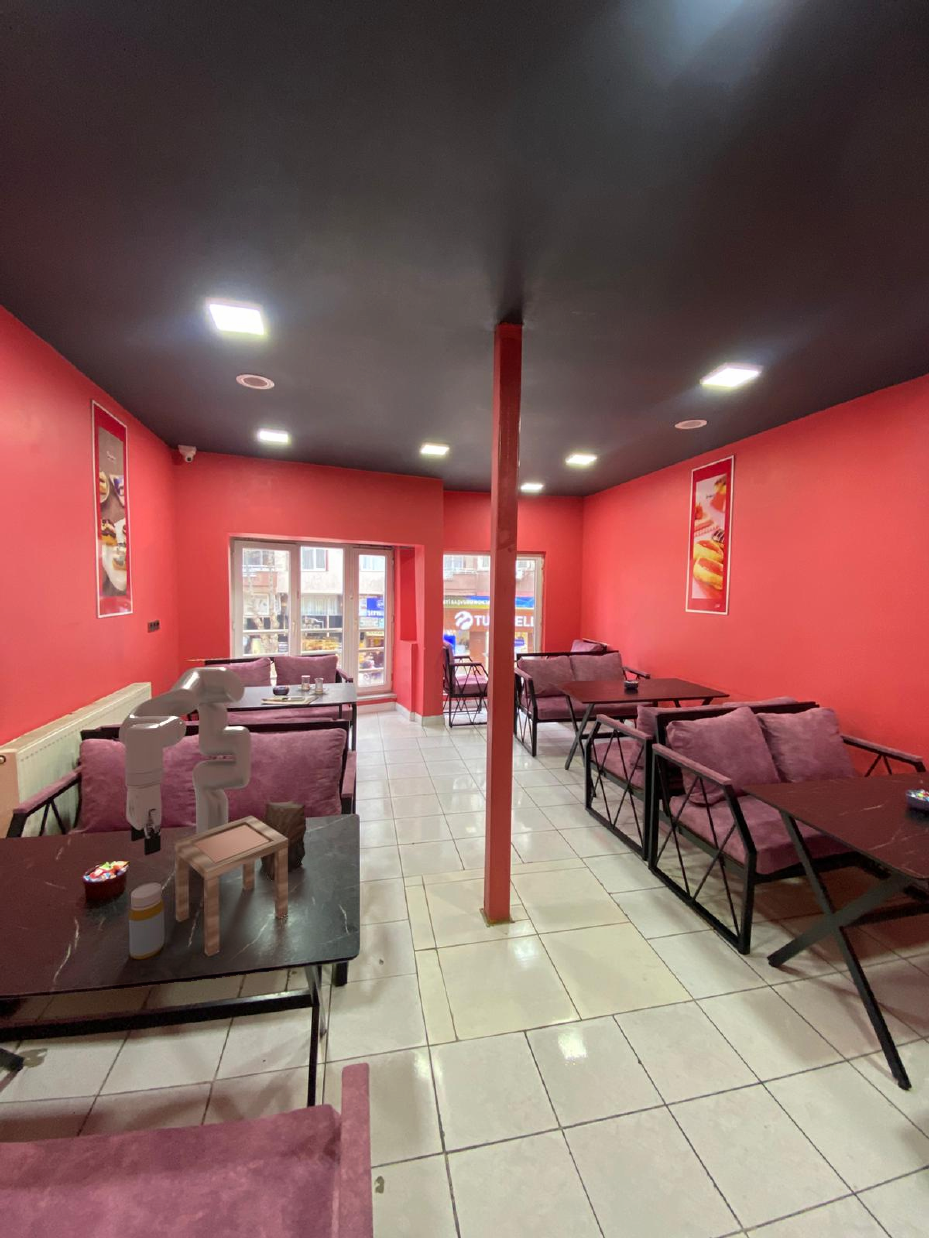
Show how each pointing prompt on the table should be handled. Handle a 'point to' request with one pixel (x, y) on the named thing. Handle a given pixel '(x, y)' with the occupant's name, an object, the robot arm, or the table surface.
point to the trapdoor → (230, 843)
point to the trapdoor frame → (211, 870)
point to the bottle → (146, 921)
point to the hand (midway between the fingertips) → (145, 845)
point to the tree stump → (286, 833)
